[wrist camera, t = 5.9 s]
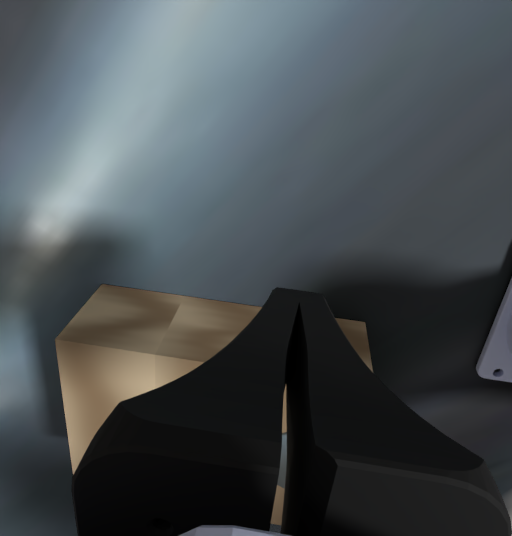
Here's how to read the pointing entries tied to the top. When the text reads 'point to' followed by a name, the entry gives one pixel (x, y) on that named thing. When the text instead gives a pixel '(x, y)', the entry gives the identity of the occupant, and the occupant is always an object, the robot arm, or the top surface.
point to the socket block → (151, 355)
